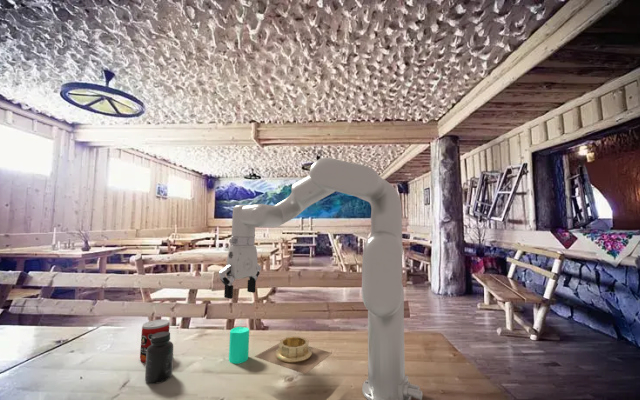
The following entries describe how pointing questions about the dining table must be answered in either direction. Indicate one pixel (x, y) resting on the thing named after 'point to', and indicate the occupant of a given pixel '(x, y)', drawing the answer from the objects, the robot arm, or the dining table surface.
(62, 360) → the dining table surface
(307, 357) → the candle holder
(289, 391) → the dining table surface
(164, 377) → the supplement bottle
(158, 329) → the canned food
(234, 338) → the candle
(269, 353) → the walnut board
